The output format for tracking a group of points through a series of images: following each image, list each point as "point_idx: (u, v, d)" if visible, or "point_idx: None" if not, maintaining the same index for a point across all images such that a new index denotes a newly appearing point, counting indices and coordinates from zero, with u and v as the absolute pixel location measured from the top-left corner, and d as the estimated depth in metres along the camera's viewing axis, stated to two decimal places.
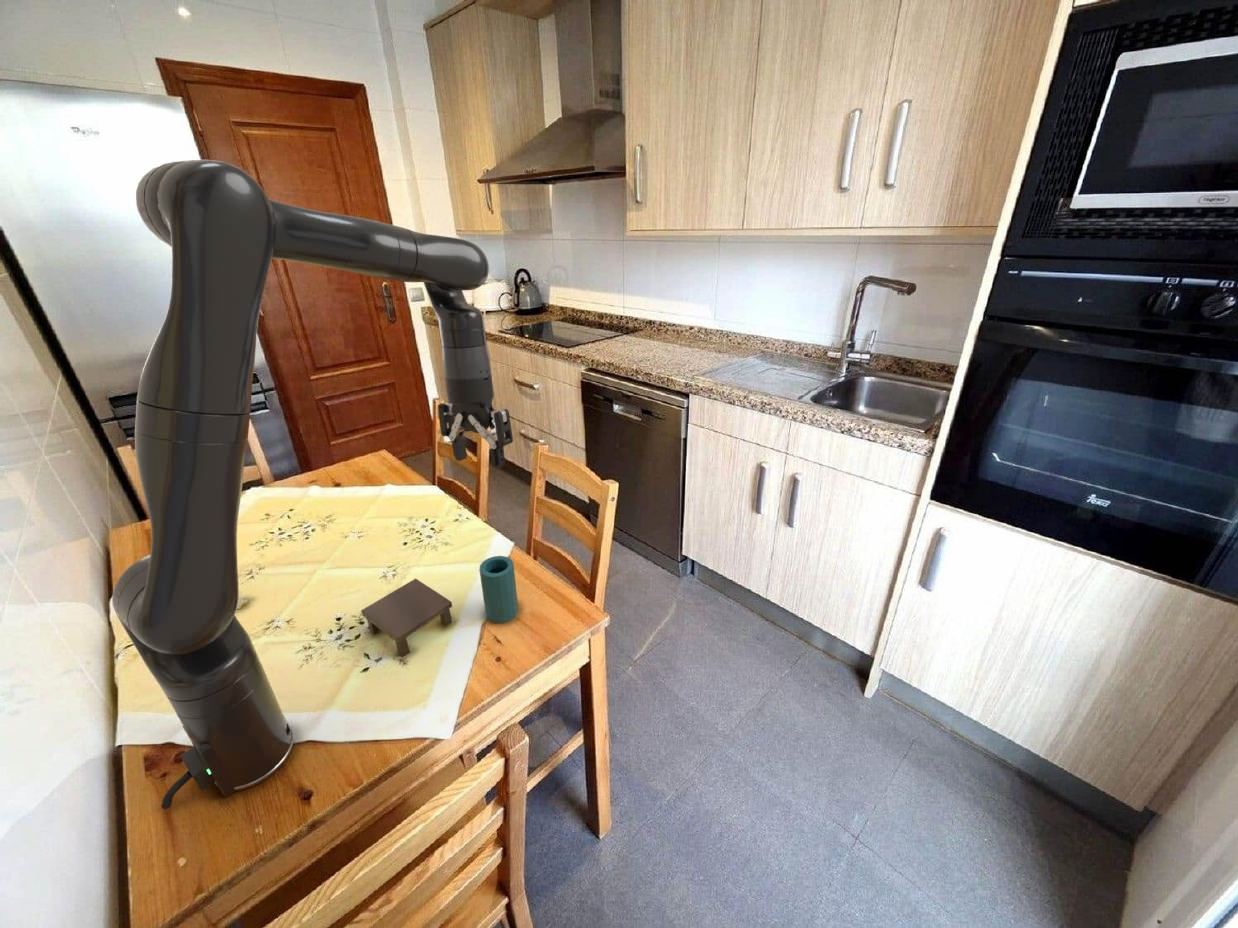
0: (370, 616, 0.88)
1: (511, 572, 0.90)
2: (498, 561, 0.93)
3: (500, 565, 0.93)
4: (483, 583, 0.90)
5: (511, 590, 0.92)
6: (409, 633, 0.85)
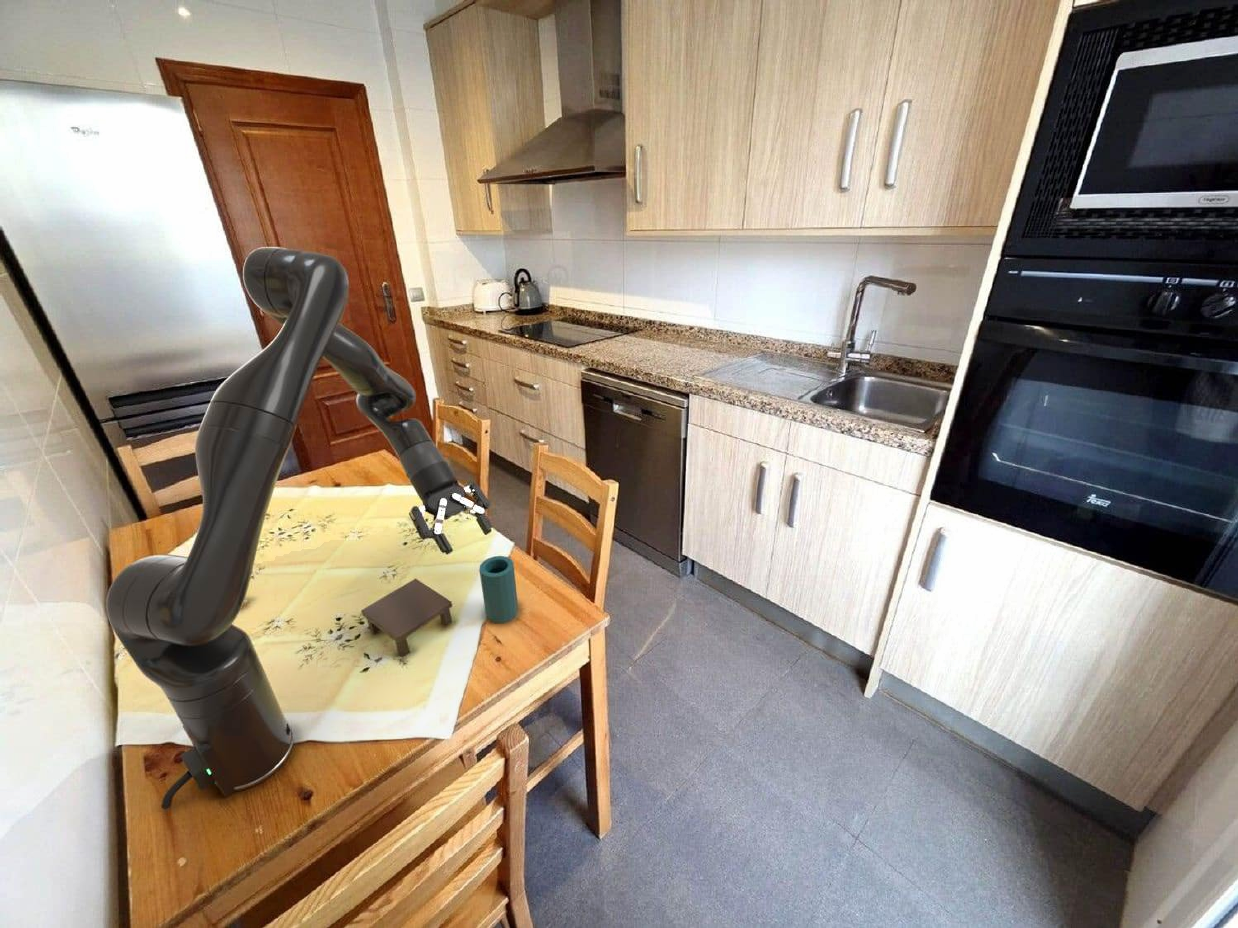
0: (370, 616, 0.88)
1: (511, 572, 0.90)
2: (498, 561, 0.93)
3: (500, 565, 0.93)
4: (483, 583, 0.90)
5: (511, 590, 0.92)
6: (409, 633, 0.85)
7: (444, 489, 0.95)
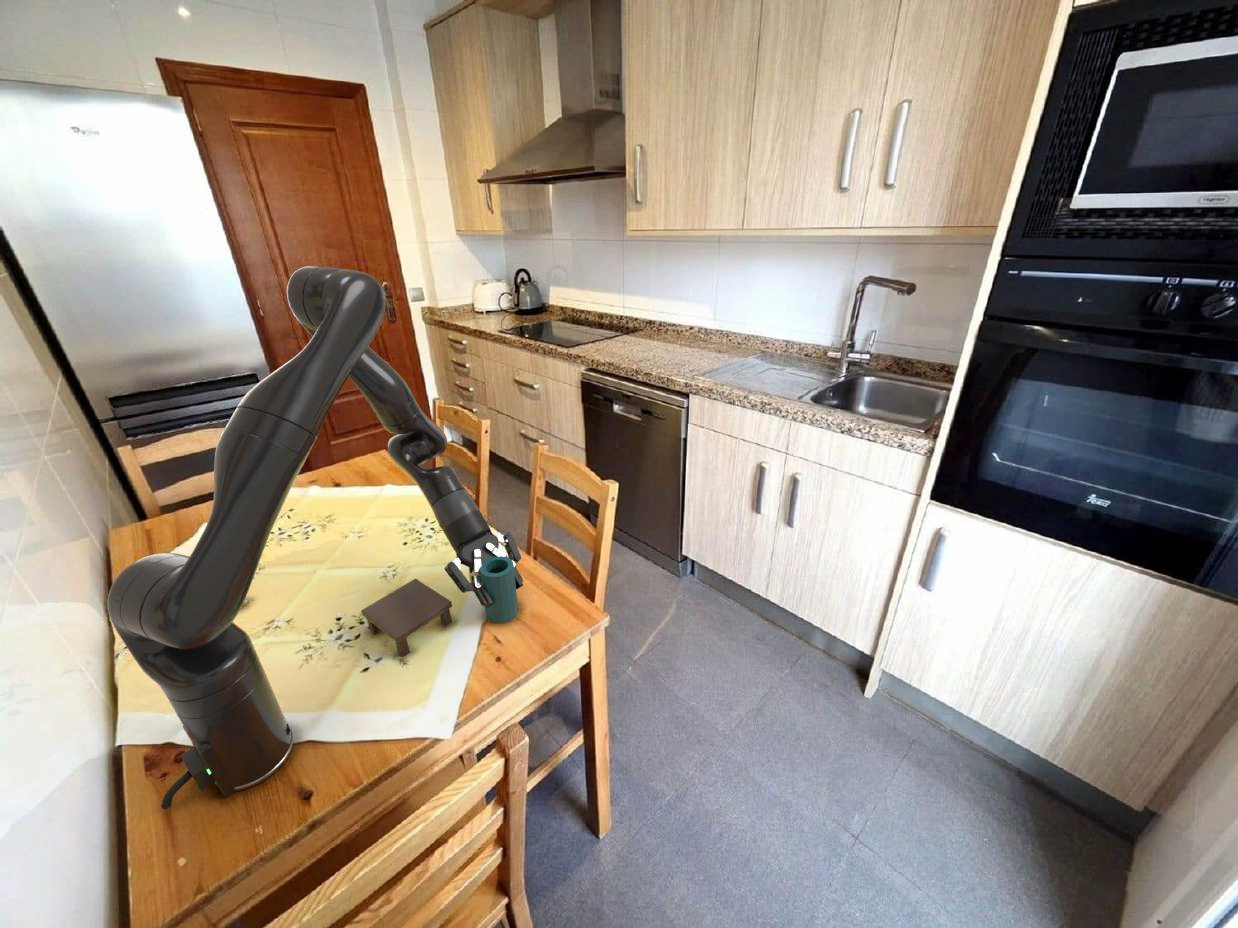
0: (370, 616, 0.88)
1: (511, 572, 0.90)
2: (498, 561, 0.93)
3: (500, 565, 0.93)
4: (483, 583, 0.90)
5: (511, 590, 0.92)
6: (409, 633, 0.85)
7: (477, 538, 0.93)
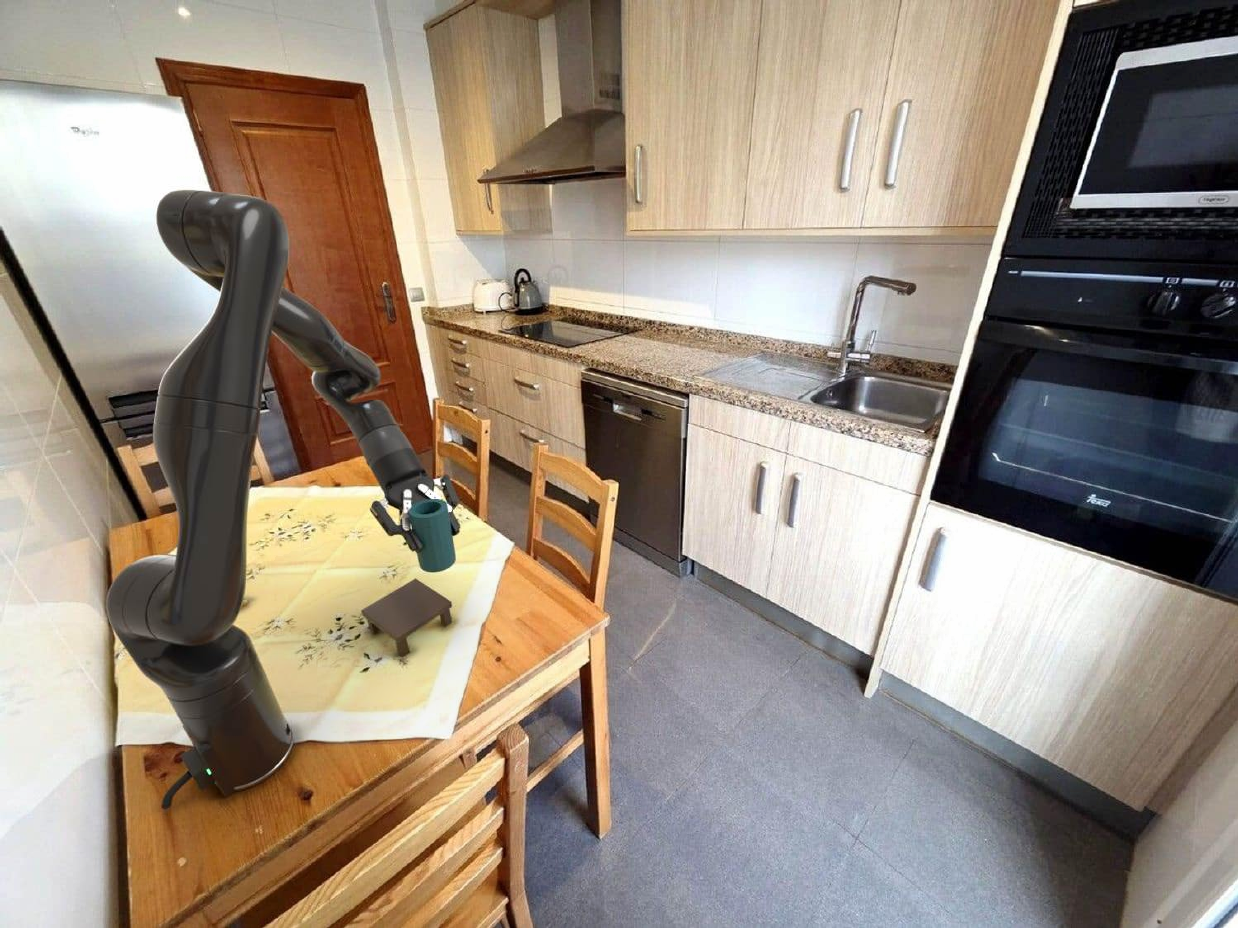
0: (370, 616, 0.88)
1: (443, 514, 0.82)
2: (431, 504, 0.84)
3: (434, 508, 0.85)
4: (412, 526, 0.82)
5: (444, 535, 0.83)
6: (409, 633, 0.85)
7: (409, 479, 0.85)
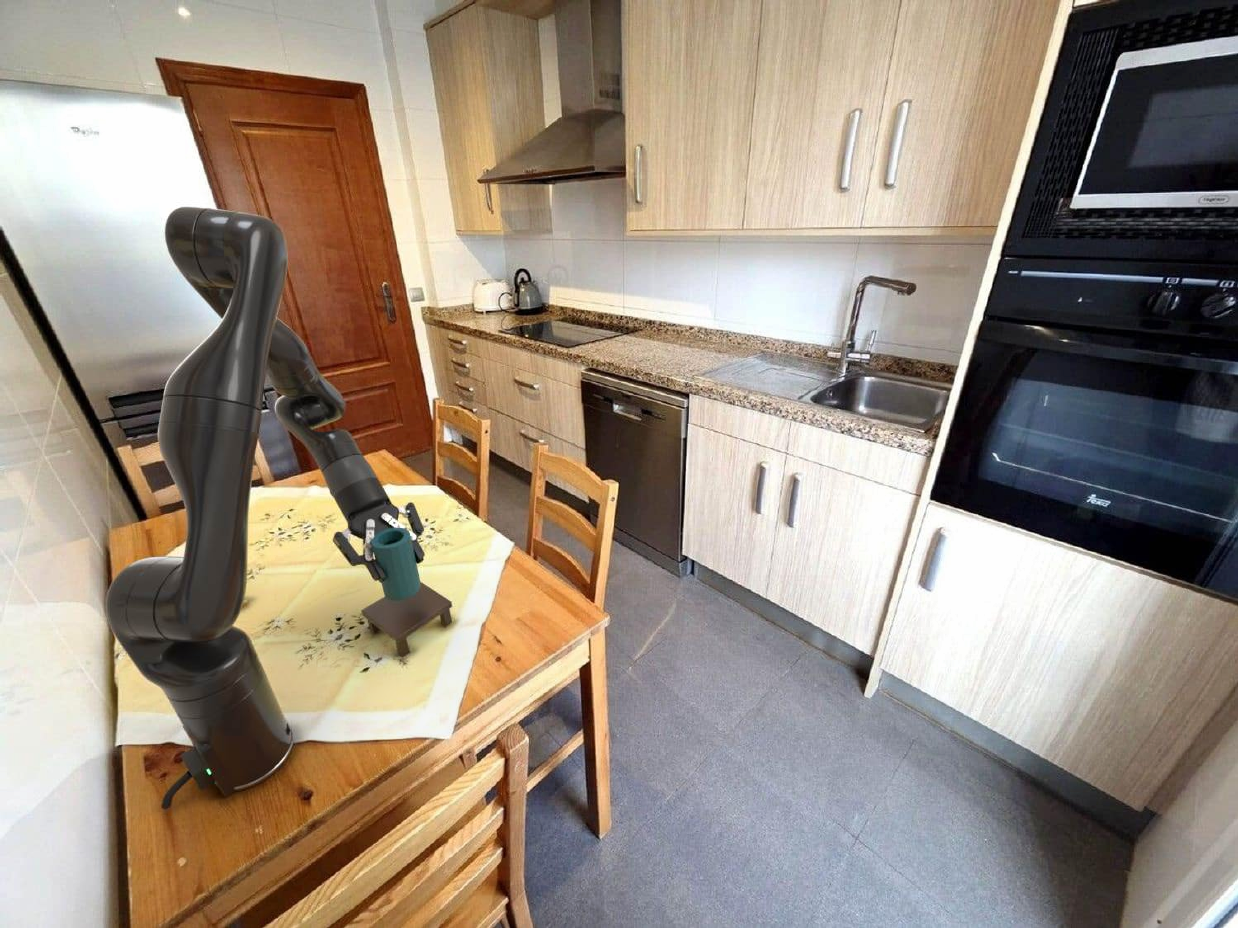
0: (370, 616, 0.88)
1: (406, 544, 0.83)
2: (395, 533, 0.85)
3: (397, 537, 0.86)
4: (375, 556, 0.82)
5: (407, 564, 0.84)
6: (409, 633, 0.85)
7: (372, 508, 0.86)
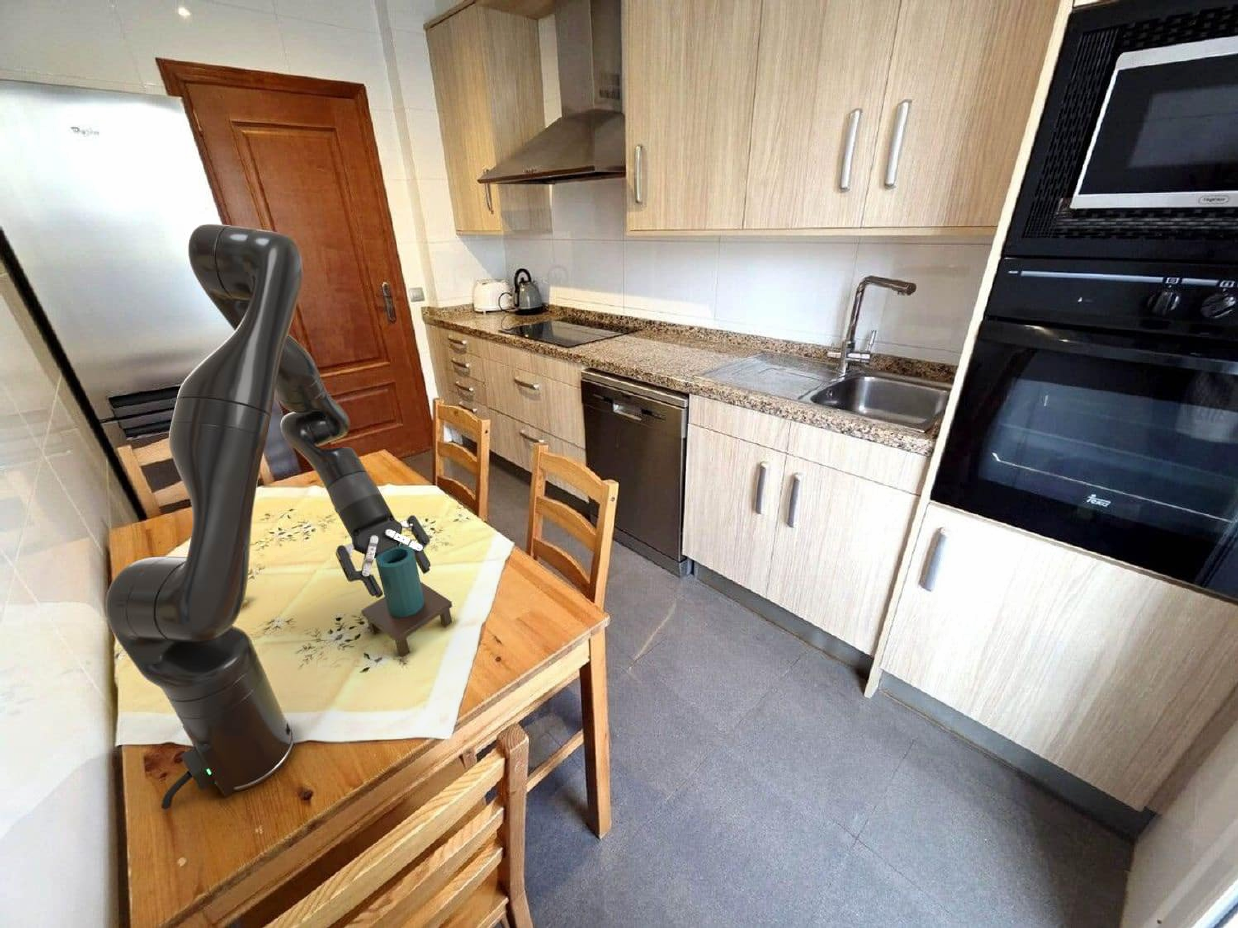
0: (370, 616, 0.88)
1: (410, 562, 0.85)
2: (399, 551, 0.87)
3: (401, 555, 0.88)
4: (379, 574, 0.84)
5: (411, 581, 0.86)
6: (409, 633, 0.85)
7: (376, 524, 0.87)
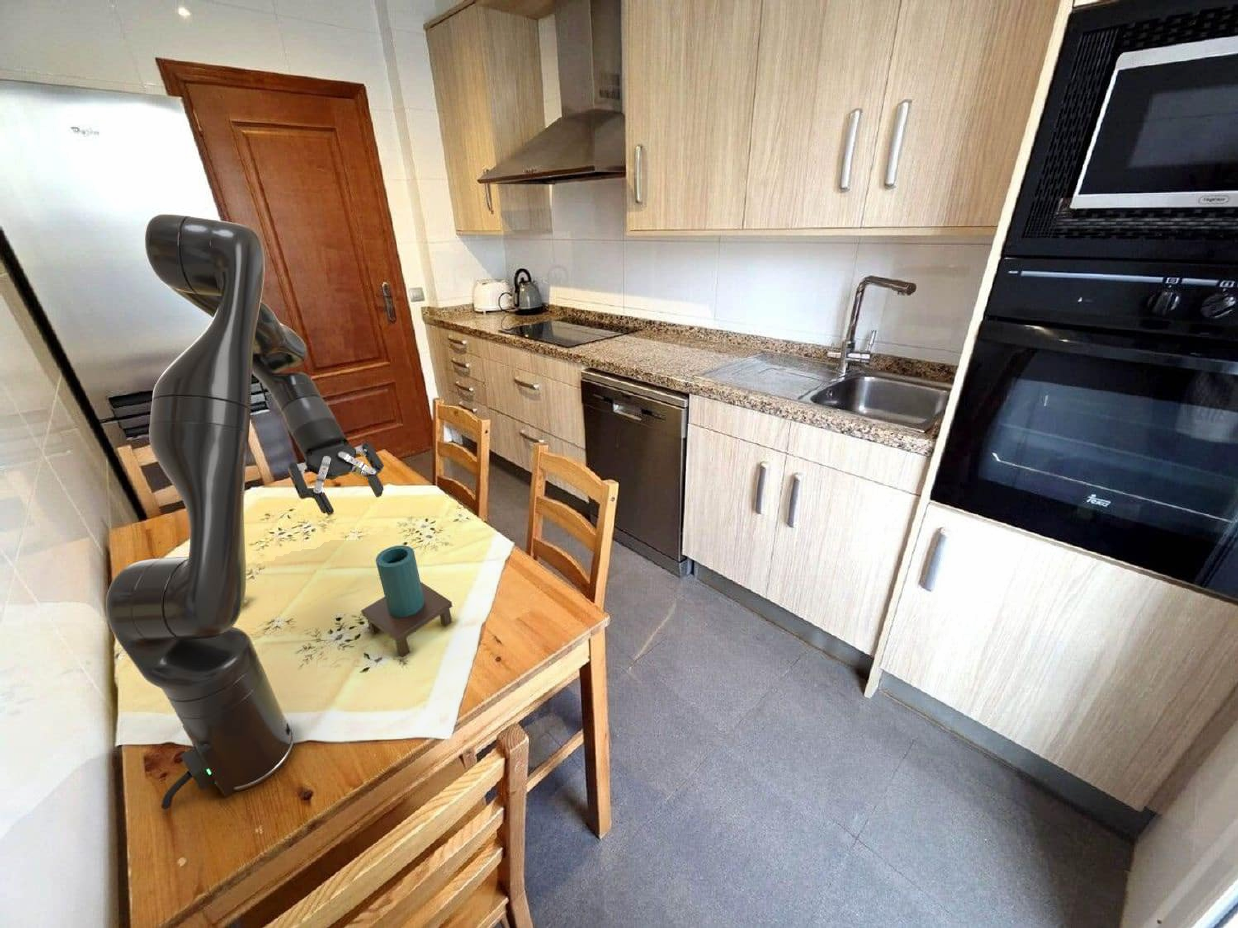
0: (370, 616, 0.88)
1: (410, 562, 0.85)
2: (399, 551, 0.87)
3: (401, 555, 0.88)
4: (379, 574, 0.84)
5: (411, 581, 0.86)
6: (409, 633, 0.85)
7: (330, 447, 0.90)
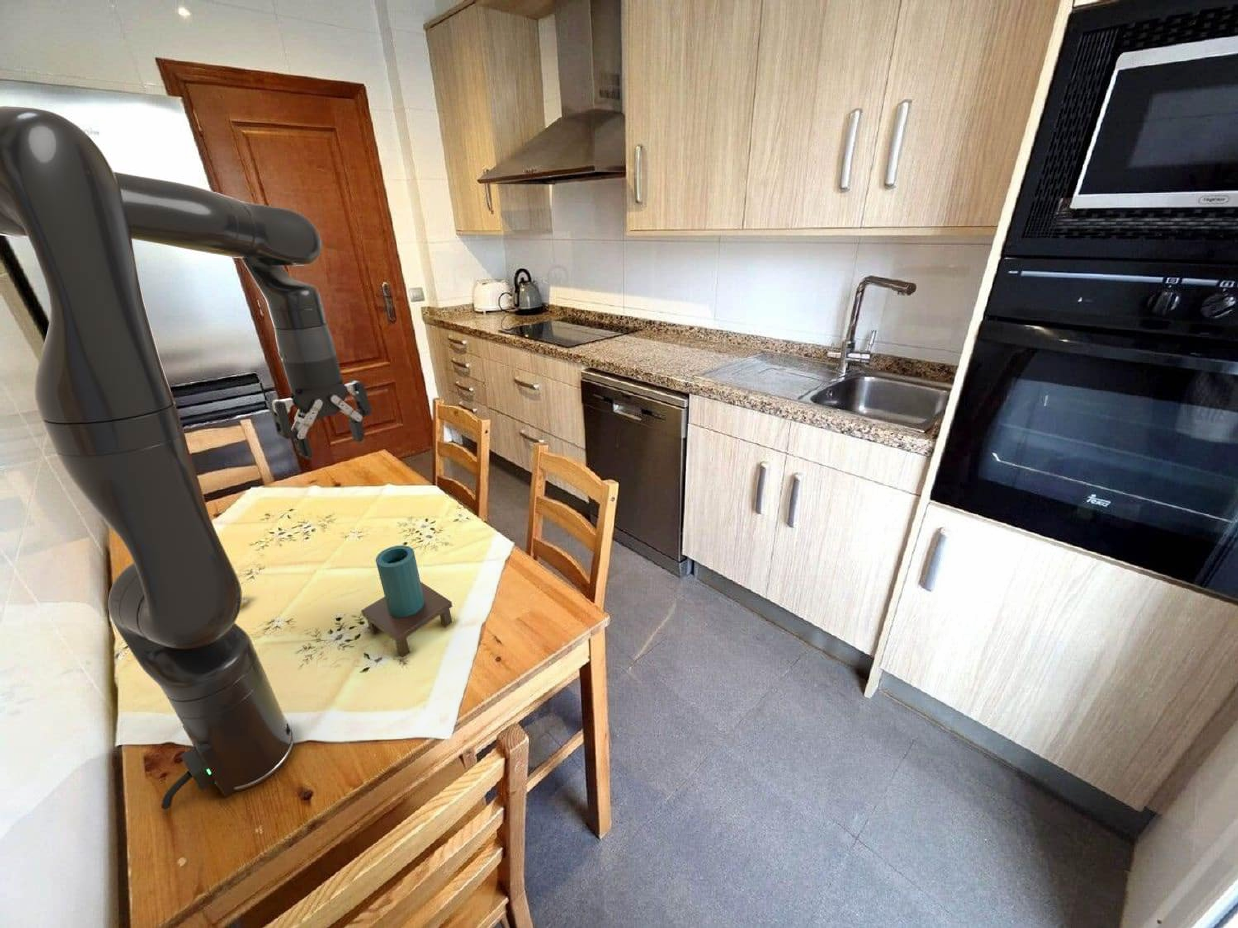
0: (370, 616, 0.88)
1: (410, 562, 0.85)
2: (399, 551, 0.87)
3: (401, 555, 0.88)
4: (379, 574, 0.84)
5: (411, 581, 0.86)
6: (409, 633, 0.85)
7: None
